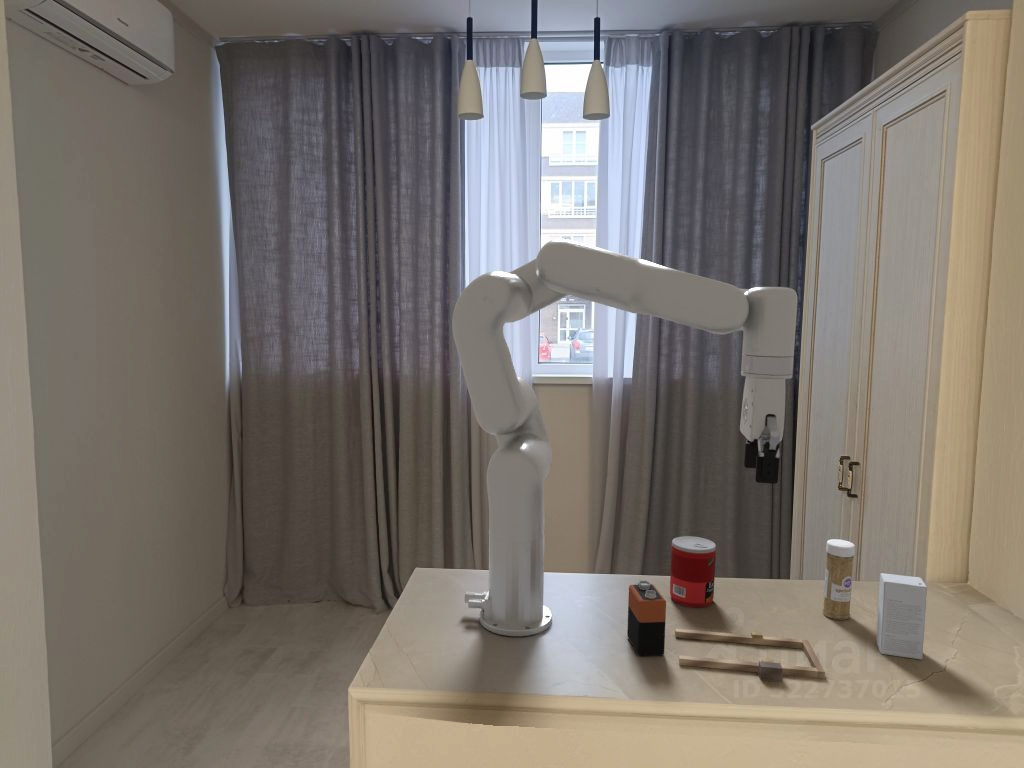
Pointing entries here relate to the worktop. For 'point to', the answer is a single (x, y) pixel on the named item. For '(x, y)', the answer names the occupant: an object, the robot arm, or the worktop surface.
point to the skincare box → (901, 615)
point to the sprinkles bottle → (838, 579)
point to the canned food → (692, 571)
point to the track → (764, 667)
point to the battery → (646, 619)
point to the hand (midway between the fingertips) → (759, 474)
